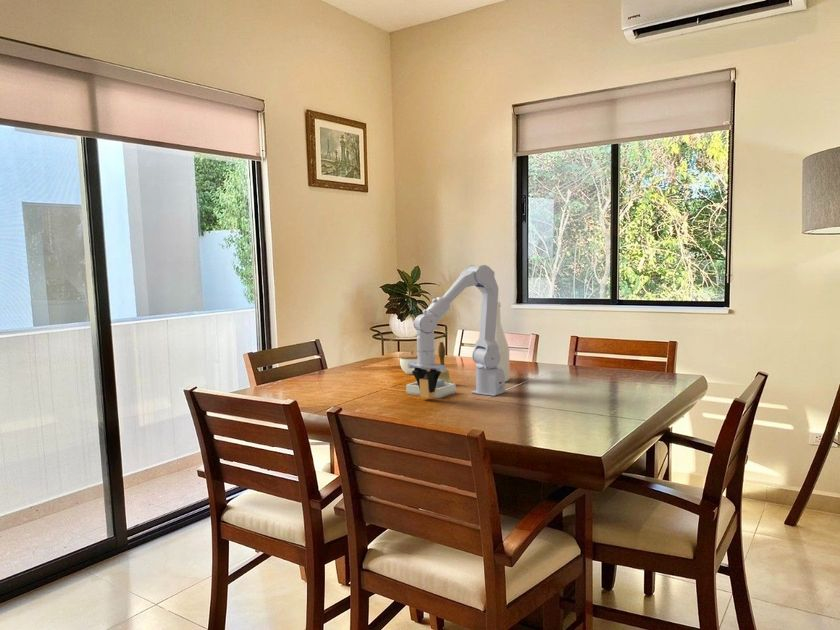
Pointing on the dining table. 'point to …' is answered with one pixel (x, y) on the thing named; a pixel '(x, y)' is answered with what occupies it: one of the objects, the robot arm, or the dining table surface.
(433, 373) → the robot arm
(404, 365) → the lidded jar
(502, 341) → the wine bottle
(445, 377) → the hand bell
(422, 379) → the tan wooden block
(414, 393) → the box
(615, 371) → the dining table surface
